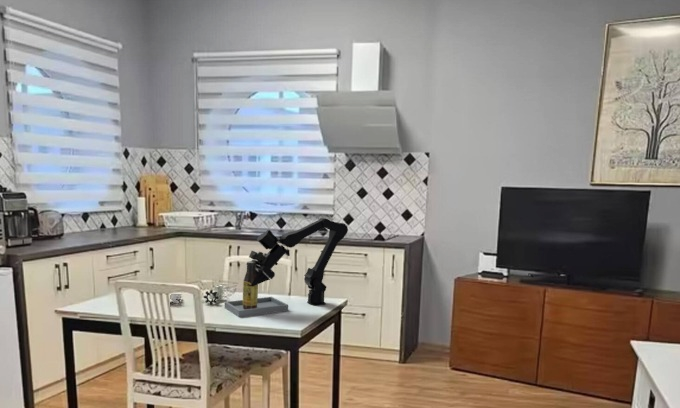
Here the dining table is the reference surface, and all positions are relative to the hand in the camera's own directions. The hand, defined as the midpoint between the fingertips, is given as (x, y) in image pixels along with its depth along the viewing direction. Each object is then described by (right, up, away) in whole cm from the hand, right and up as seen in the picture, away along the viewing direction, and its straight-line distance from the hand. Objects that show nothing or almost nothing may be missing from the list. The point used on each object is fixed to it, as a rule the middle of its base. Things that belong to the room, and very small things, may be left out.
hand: (248, 283), depth 213 cm
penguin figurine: (-35, -10, +13) cm, 39 cm away
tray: (+3, -11, +2) cm, 12 cm away
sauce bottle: (+1, -11, +1) cm, 11 cm away
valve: (-17, -11, +14) cm, 25 cm away
